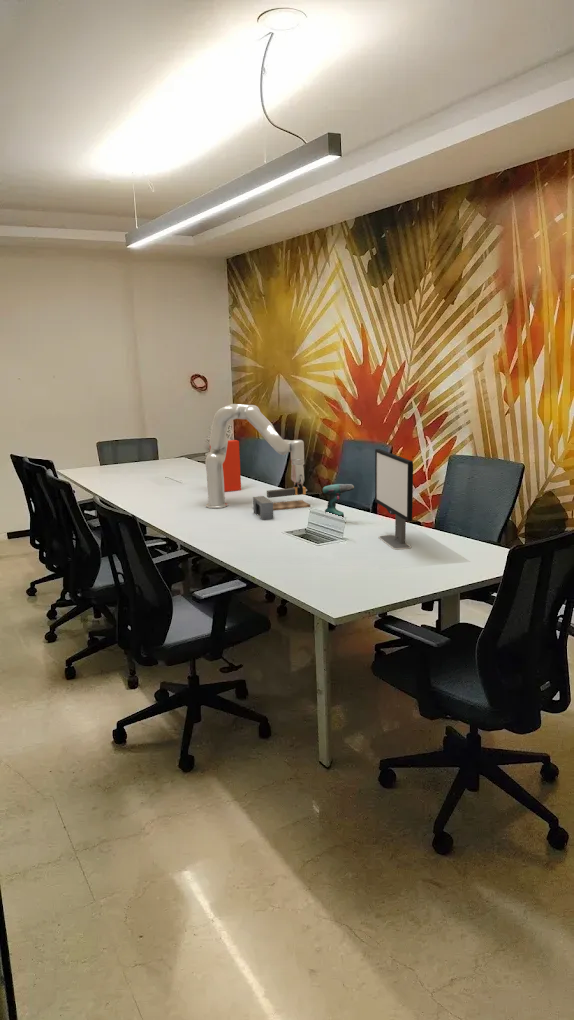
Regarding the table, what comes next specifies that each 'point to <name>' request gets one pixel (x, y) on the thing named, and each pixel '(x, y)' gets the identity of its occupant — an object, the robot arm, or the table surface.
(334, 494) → the power drill
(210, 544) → the table surface
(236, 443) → the file binder
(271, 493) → the grey and orange bar
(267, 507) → the grey slotted block
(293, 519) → the table surface
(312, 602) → the table surface
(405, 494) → the computer monitor
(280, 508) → the pad
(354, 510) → the table surface
